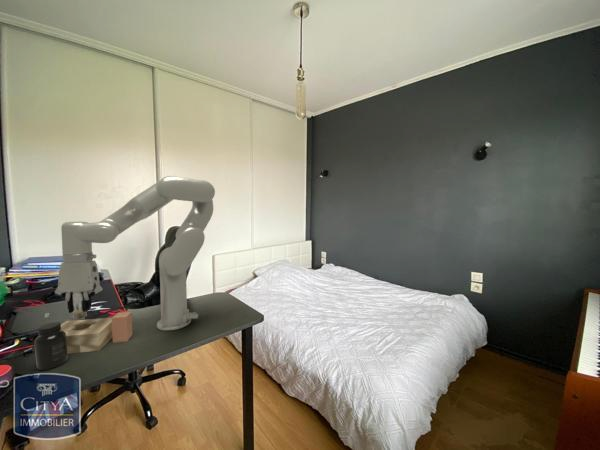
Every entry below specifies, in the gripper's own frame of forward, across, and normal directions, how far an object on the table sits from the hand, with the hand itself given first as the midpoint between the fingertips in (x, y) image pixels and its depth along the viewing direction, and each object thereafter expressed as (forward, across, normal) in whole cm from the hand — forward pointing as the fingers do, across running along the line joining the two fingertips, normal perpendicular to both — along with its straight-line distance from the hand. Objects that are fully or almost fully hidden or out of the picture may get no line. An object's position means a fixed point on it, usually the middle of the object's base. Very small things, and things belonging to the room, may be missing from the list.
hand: (80, 310), depth 87 cm
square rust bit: (+12, -12, -1) cm, 17 cm away
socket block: (+12, 0, 0) cm, 12 cm away
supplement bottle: (+12, +2, +11) cm, 16 cm away
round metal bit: (+2, 0, 0) cm, 2 cm away
